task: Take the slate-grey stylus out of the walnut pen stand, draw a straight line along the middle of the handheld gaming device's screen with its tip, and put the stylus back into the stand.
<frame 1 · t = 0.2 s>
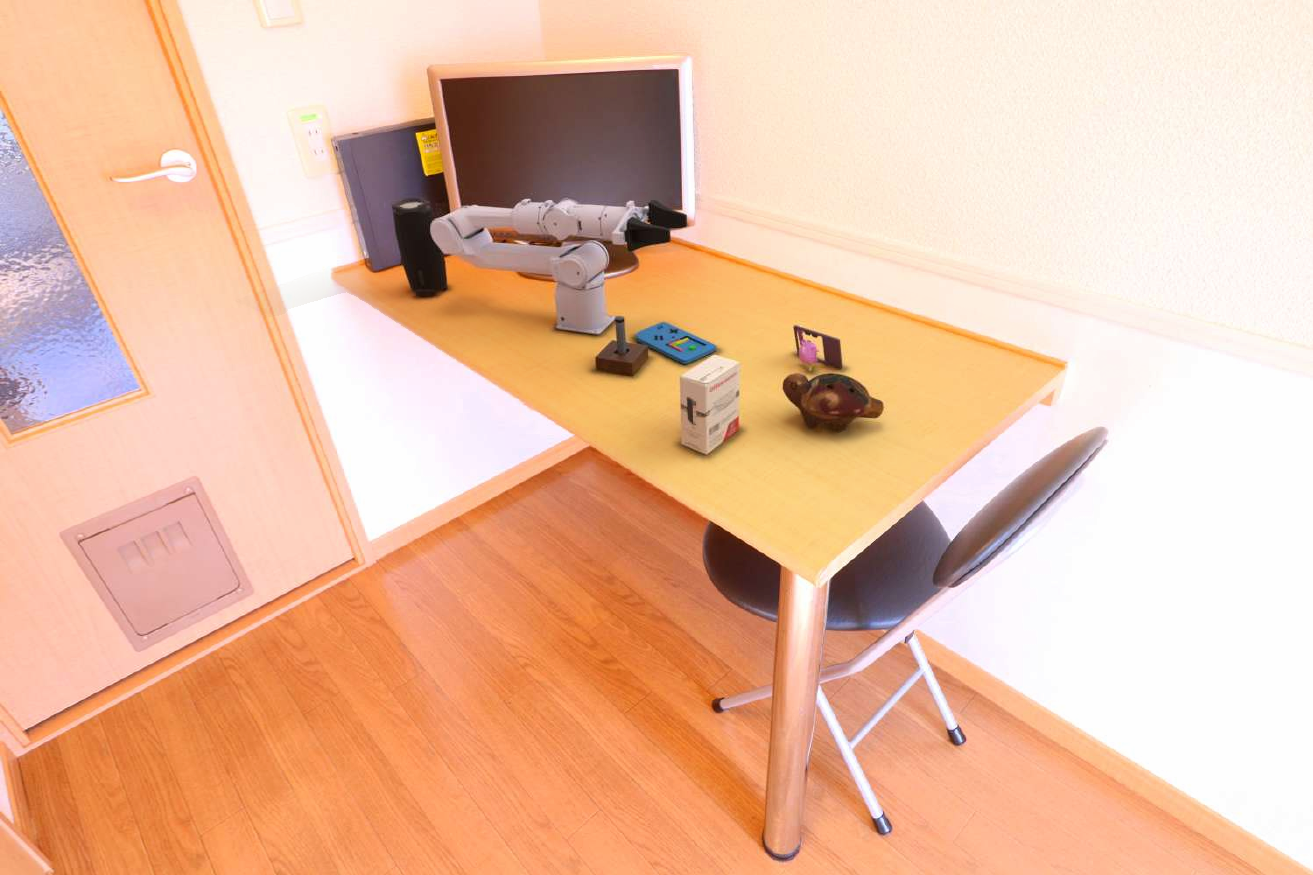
hand: (678, 228, 123), 21 cm above the table, tool horizontal, fingers open, 7 cm apart
stylus: (621, 341, 125), in the pen stand
purple frame with figurine: (812, 366, 125), on the table
decorative turtle: (829, 422, 110), on the table
portable speaker: (430, 291, 159), on the table
ink box: (710, 438, 108), on the table
pen stand: (622, 364, 128), on the table
handheld gaming device: (673, 345, 133), on the table
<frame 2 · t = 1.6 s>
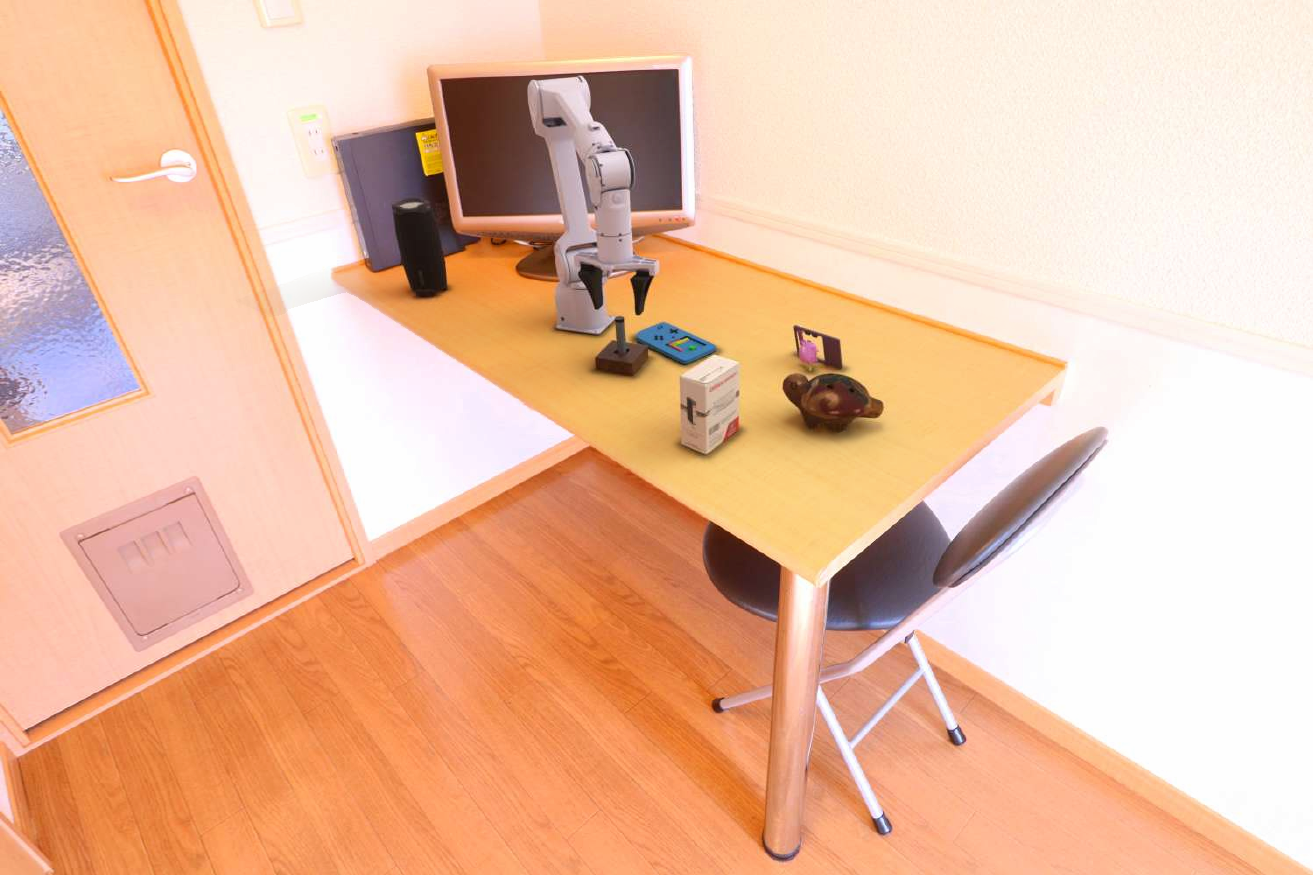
hand: (619, 310, 122), 10 cm above the table, tool pointing down, fingers open, 7 cm apart
nothing on the table moved.
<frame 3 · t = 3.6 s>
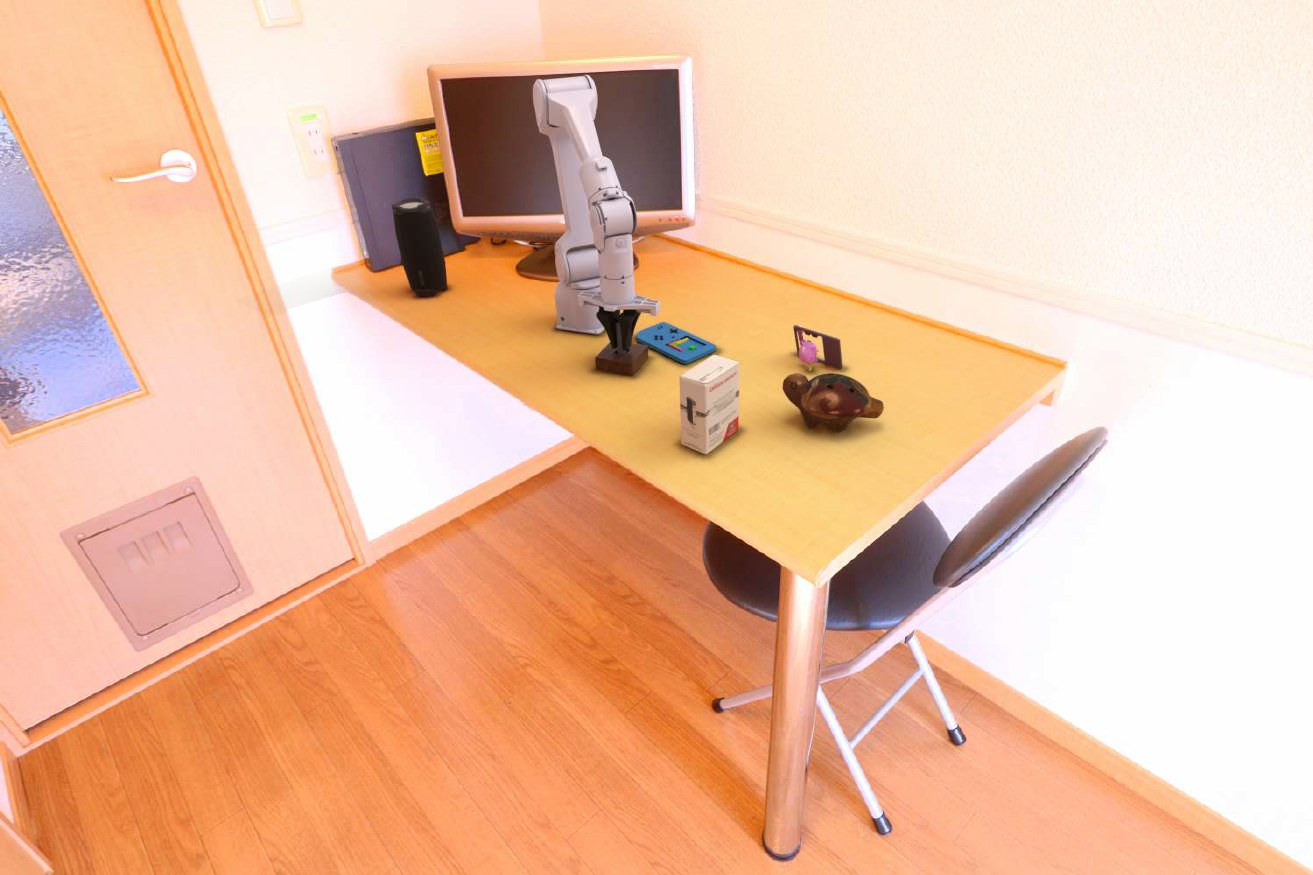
hand: (621, 347, 126), 3 cm above the table, tool pointing down, fingers closed on stylus, 1 cm apart
stylus: (621, 341, 125), in the pen stand, touching gripper
everything else where it was.
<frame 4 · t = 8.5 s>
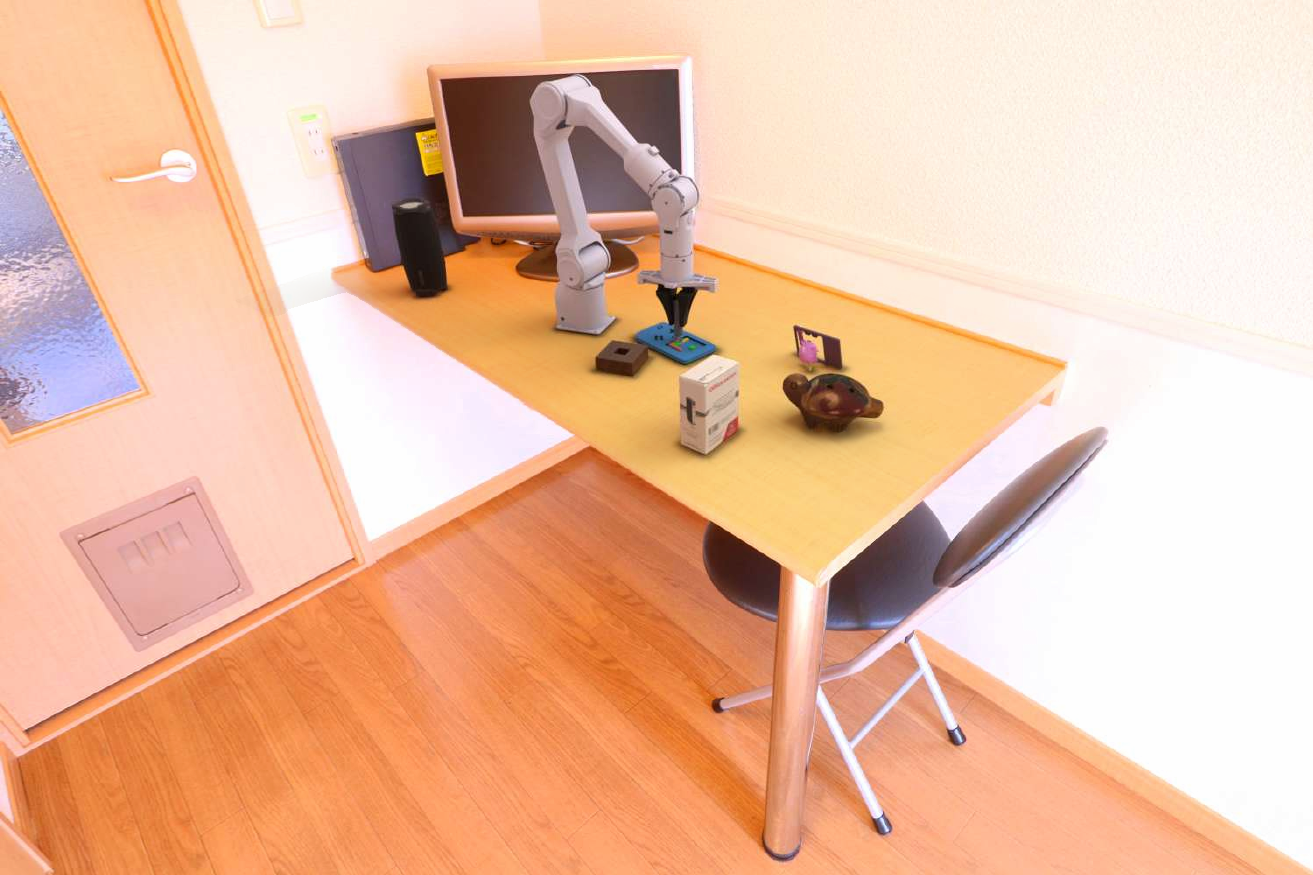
hand: (678, 324, 131), 4 cm above the table, tool pointing down, fingers closed on stylus, 1 cm apart
stylus: (678, 318, 130), point 5 cm above the table, touching gripper
everything else where it was.
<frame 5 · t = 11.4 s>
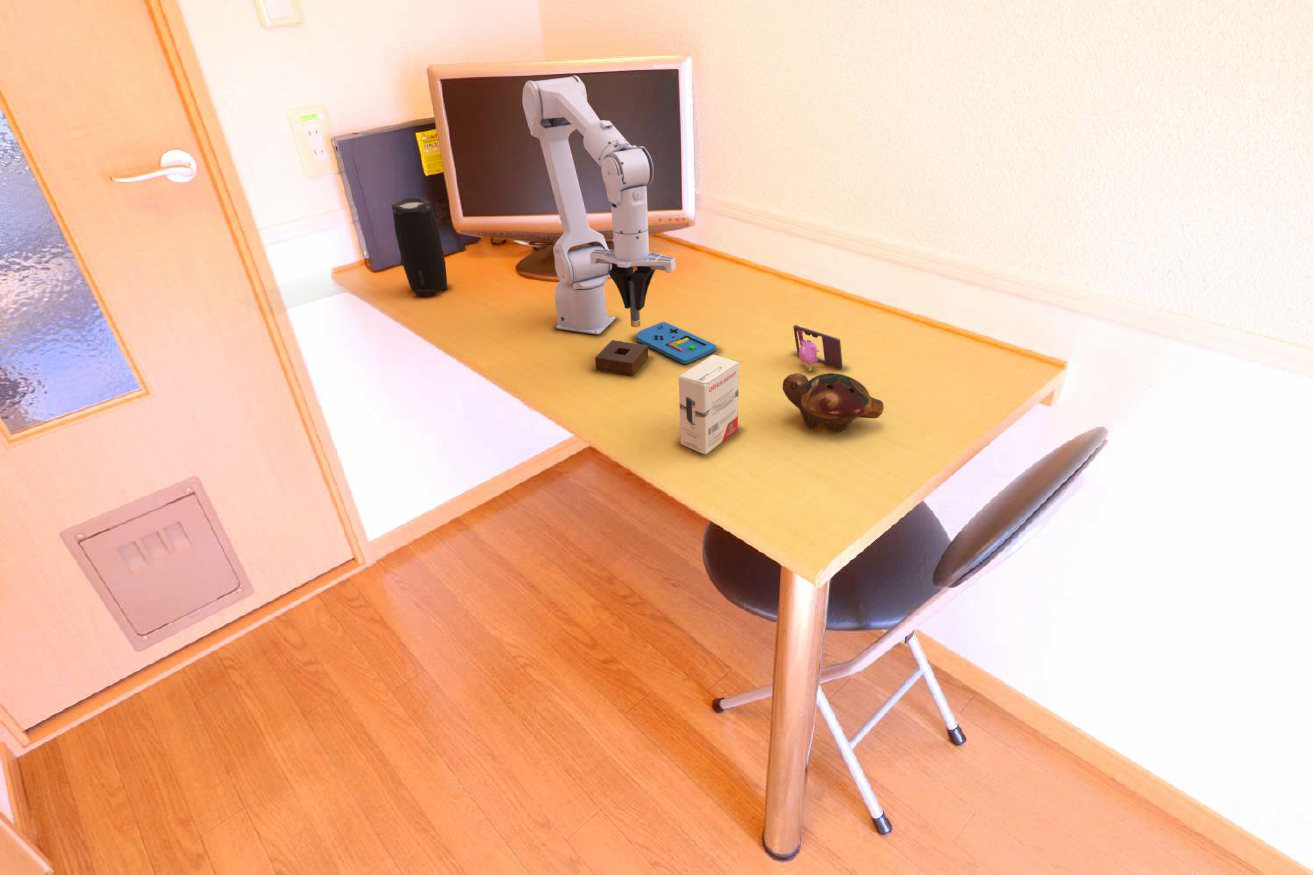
hand: (634, 307, 123), 10 cm above the table, tool pointing down, fingers closed on stylus, 1 cm apart
stylus: (634, 301, 122), point 12 cm above the table, touching gripper
everything else where it was.
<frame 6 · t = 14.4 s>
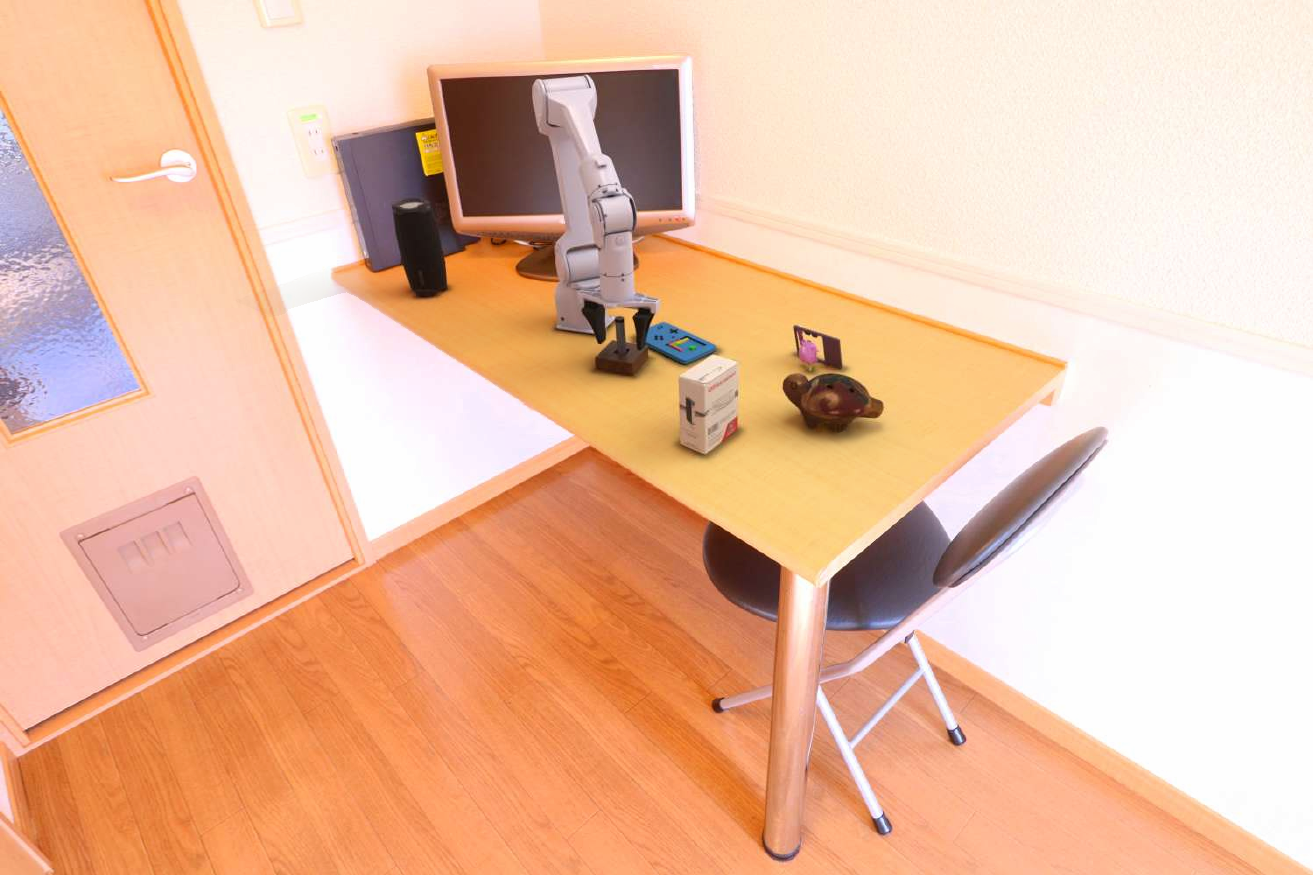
hand: (621, 344, 126), 4 cm above the table, tool pointing down, fingers open, 7 cm apart
stylus: (621, 341, 125), in the pen stand
everything else where it was.
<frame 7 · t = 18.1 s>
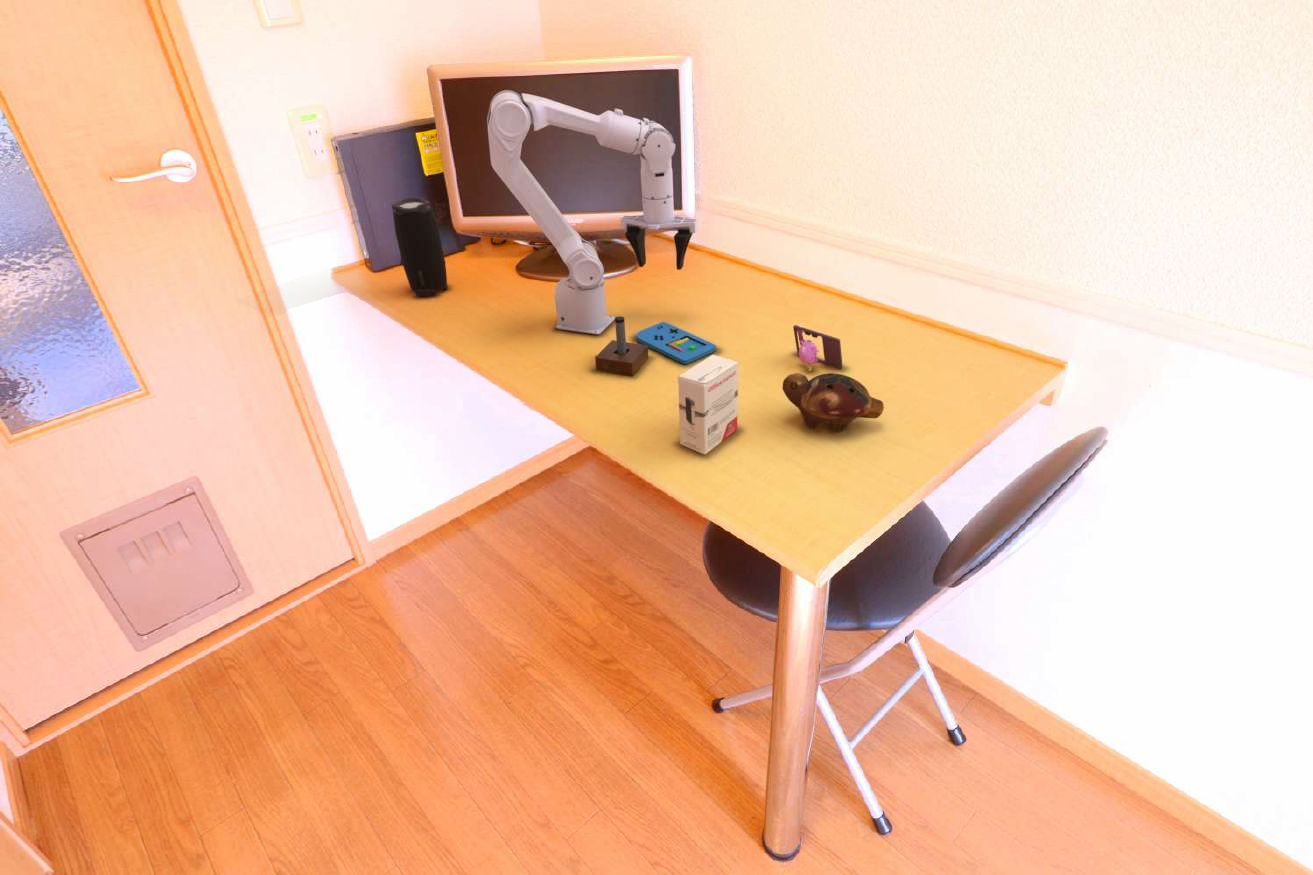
hand: (661, 266, 138), 10 cm above the table, tool pointing down, fingers open, 7 cm apart
nothing on the table moved.
at the end: stylus 0.1 cm off-centre in the pen stand, point 4.5 cm above the pen stand's base; stylus tilted 0°; handheld gaming device moved 0.0 cm from its start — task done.
